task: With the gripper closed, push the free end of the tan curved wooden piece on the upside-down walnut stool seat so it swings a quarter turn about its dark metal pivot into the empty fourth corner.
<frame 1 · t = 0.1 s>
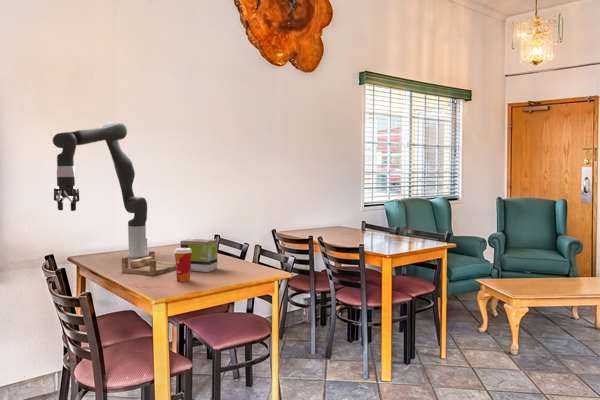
hand: (66, 210, 226), 29 cm above the table, tool pointing down, fingers open, 8 cm apart
paper cup: (183, 281, 212), on the table
tan curved wooden piece: (143, 261, 234), point 4 cm above the table, hinge at 0.0°
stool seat: (152, 270, 233), on the table
tea box: (199, 270, 235), on the table
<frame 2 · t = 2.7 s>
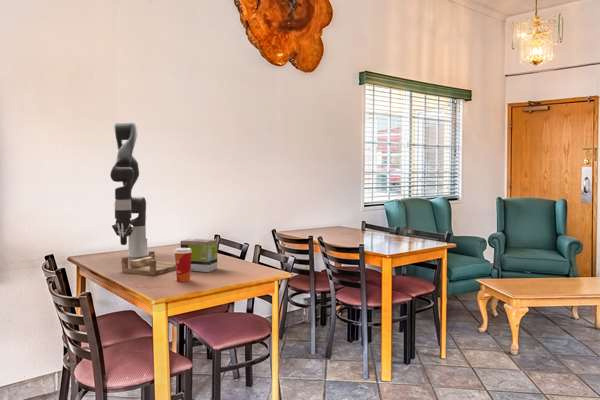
hand: (123, 244, 232), 12 cm above the table, tool pointing down, fingers closed
nothing on the table moved.
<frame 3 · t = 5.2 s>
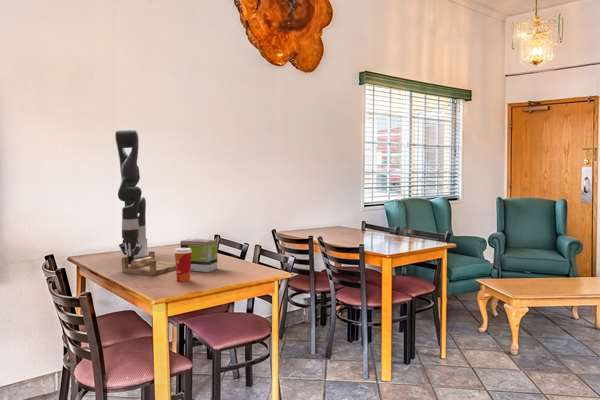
hand: (130, 264, 231), 3 cm above the table, tool pointing down, fingers closed
tan curved wooden piece: (143, 261, 234), point 4 cm above the table, hinge at 1.3°, touching gripper
everything else where it was.
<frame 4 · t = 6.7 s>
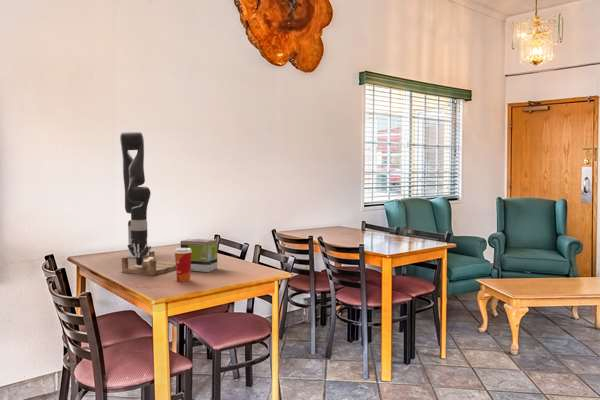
hand: (139, 264, 229), 3 cm above the table, tool pointing down, fingers closed
tan curved wooden piece: (149, 261, 234), point 4 cm above the table, hinge at 26.2°, touching gripper
everything else where it was.
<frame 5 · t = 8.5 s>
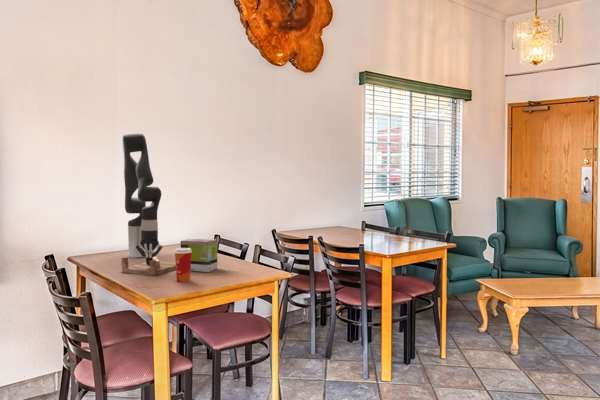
hand: (149, 265, 229), 3 cm above the table, tool pointing down, fingers closed
tan curved wooden piece: (154, 261, 234), point 4 cm above the table, hinge at 50.1°, touching gripper
everything else where it was.
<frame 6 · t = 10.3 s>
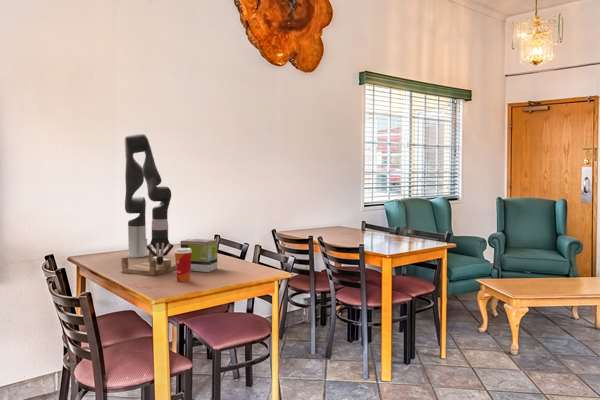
hand: (159, 264, 230), 3 cm above the table, tool pointing down, fingers closed
tan curved wooden piece: (160, 260, 236), point 4 cm above the table, hinge at 73.1°, touching gripper
everything else where it was.
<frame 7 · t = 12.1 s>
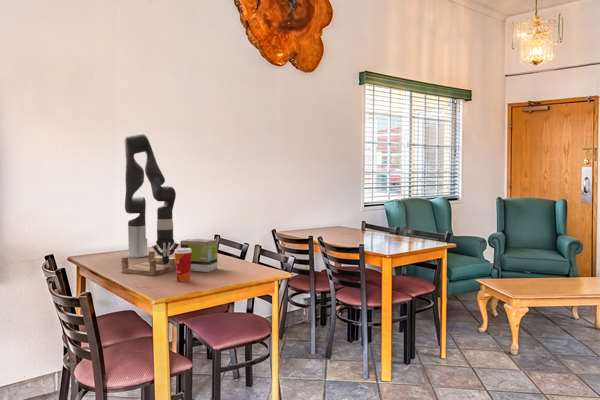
hand: (165, 263, 232), 3 cm above the table, tool pointing down, fingers closed
tan curved wooden piece: (163, 259, 238), point 4 cm above the table, hinge at 92.0°
everything else where it was.
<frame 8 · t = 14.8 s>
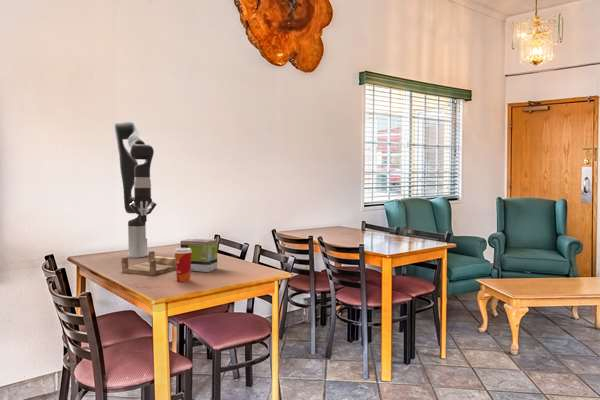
hand: (143, 223, 230), 23 cm above the table, tool pointing down, fingers closed
nothing on the table moved.
at the end: tan curved wooden piece at +92° (first picture: +0°); tan curved wooden piece touching nothing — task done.
